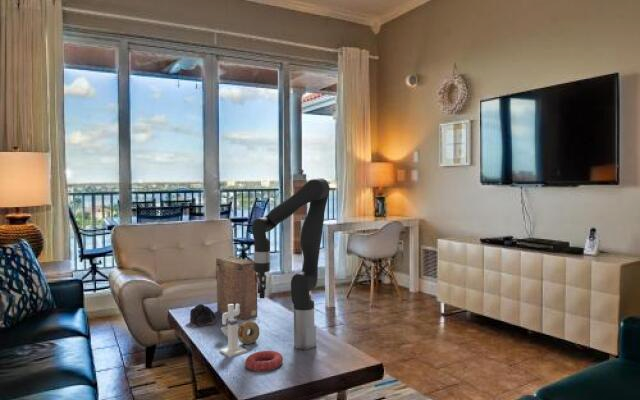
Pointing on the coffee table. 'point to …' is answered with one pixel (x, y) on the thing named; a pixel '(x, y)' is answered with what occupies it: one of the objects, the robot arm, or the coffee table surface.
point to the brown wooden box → (237, 286)
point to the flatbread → (252, 335)
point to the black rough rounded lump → (202, 316)
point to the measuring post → (232, 340)
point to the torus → (273, 362)
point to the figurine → (230, 316)
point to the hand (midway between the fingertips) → (261, 295)
